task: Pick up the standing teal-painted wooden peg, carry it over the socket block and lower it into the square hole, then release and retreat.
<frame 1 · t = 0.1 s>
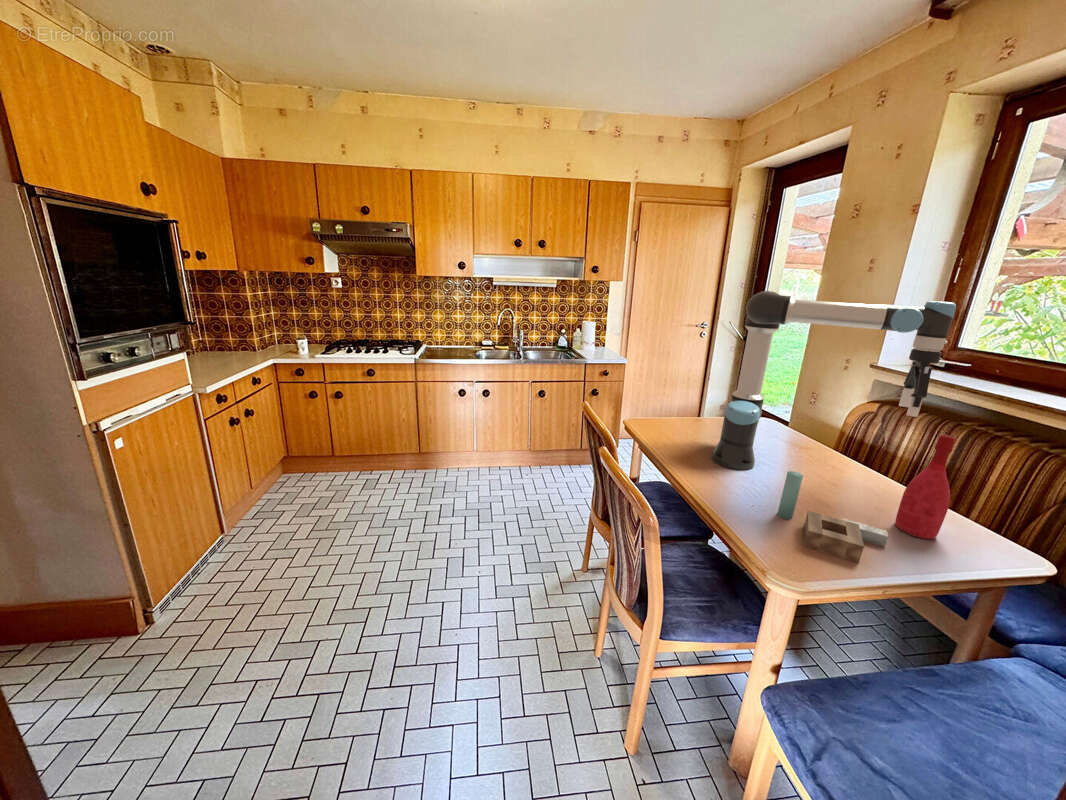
hand: (907, 411, 146), 28 cm above the table, fingers open, 13 cm apart
peg: (784, 515, 129), on the table
grey bar: (861, 538, 120), on the table
socket block: (829, 543, 117), on the table
wine bottle: (914, 531, 125), on the table
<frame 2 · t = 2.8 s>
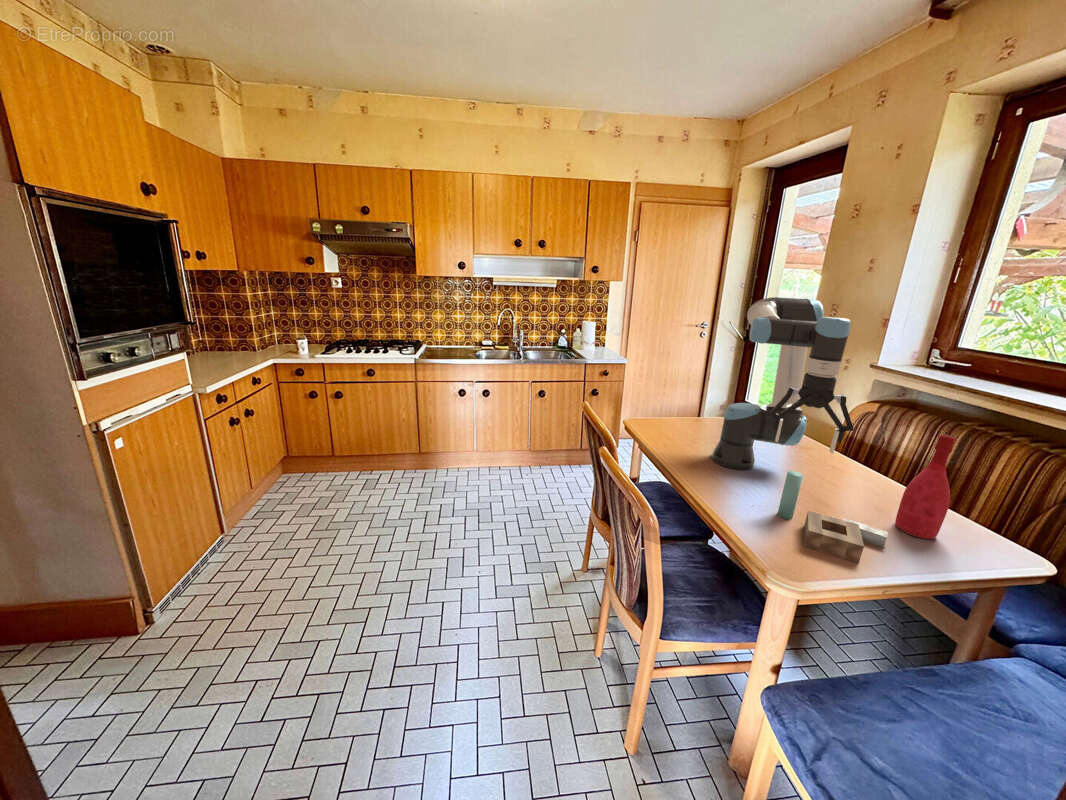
hand: (803, 446, 123), 23 cm above the table, fingers open, 13 cm apart
nothing on the table moved.
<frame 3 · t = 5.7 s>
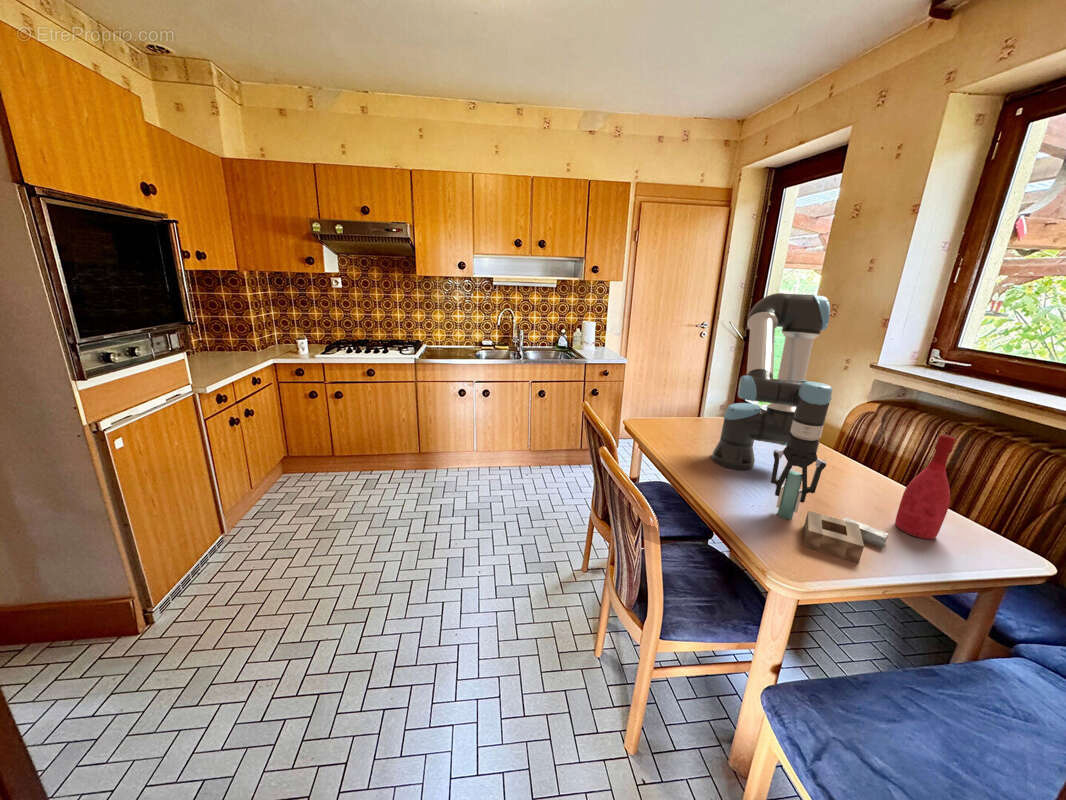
hand: (786, 507, 129), 3 cm above the table, fingers closed on peg, 4 cm apart
peg: (784, 515, 129), on the table, touching gripper
everything else where it was.
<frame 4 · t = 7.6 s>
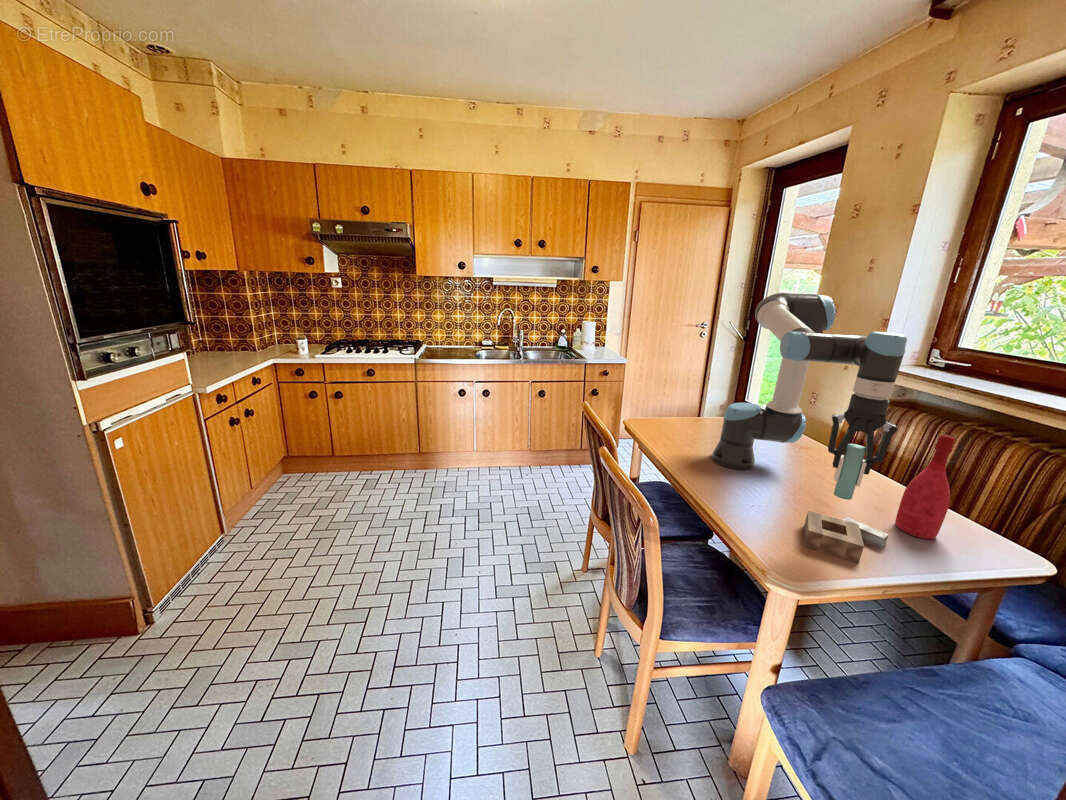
hand: (846, 481, 111), 19 cm above the table, fingers closed on peg, 4 cm apart
peg: (842, 495, 112), point 15 cm above the table, touching gripper
when the fingers open (7 cm above the table, at t = 9.6 s): peg drops 2 cm, resting in socket block.
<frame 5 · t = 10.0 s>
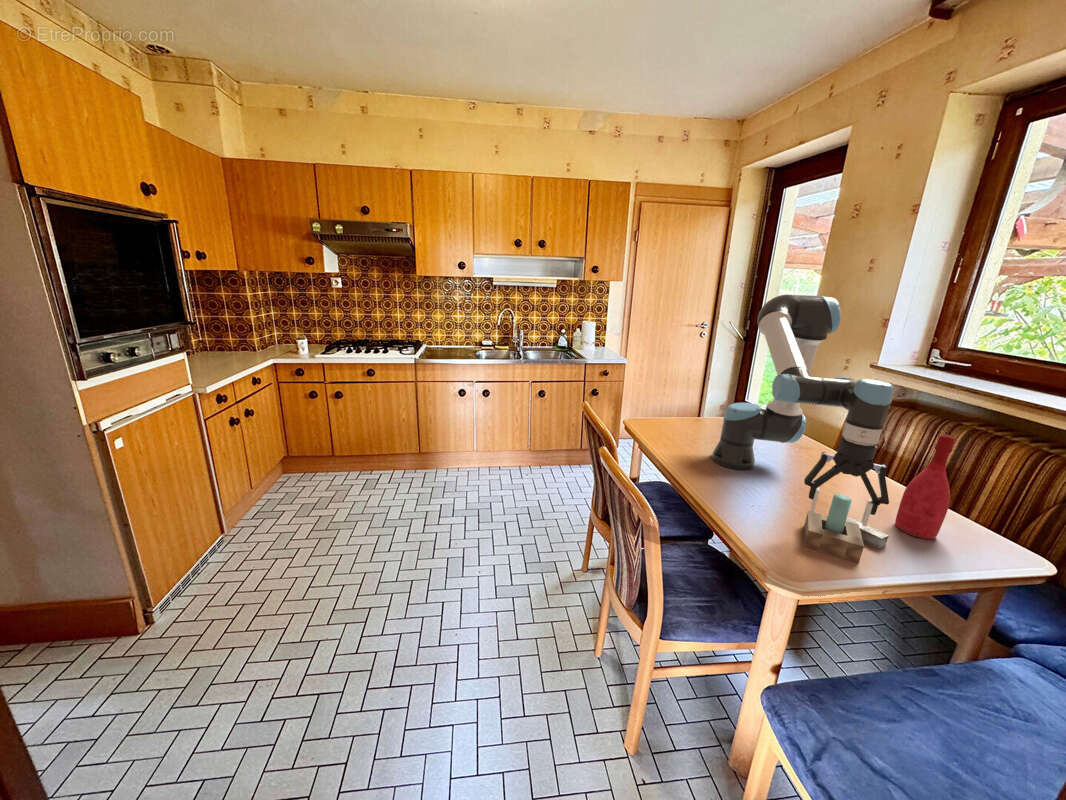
hand: (837, 516, 114), 8 cm above the table, fingers open, 11 cm apart
peg: (829, 543, 117), resting in socket block
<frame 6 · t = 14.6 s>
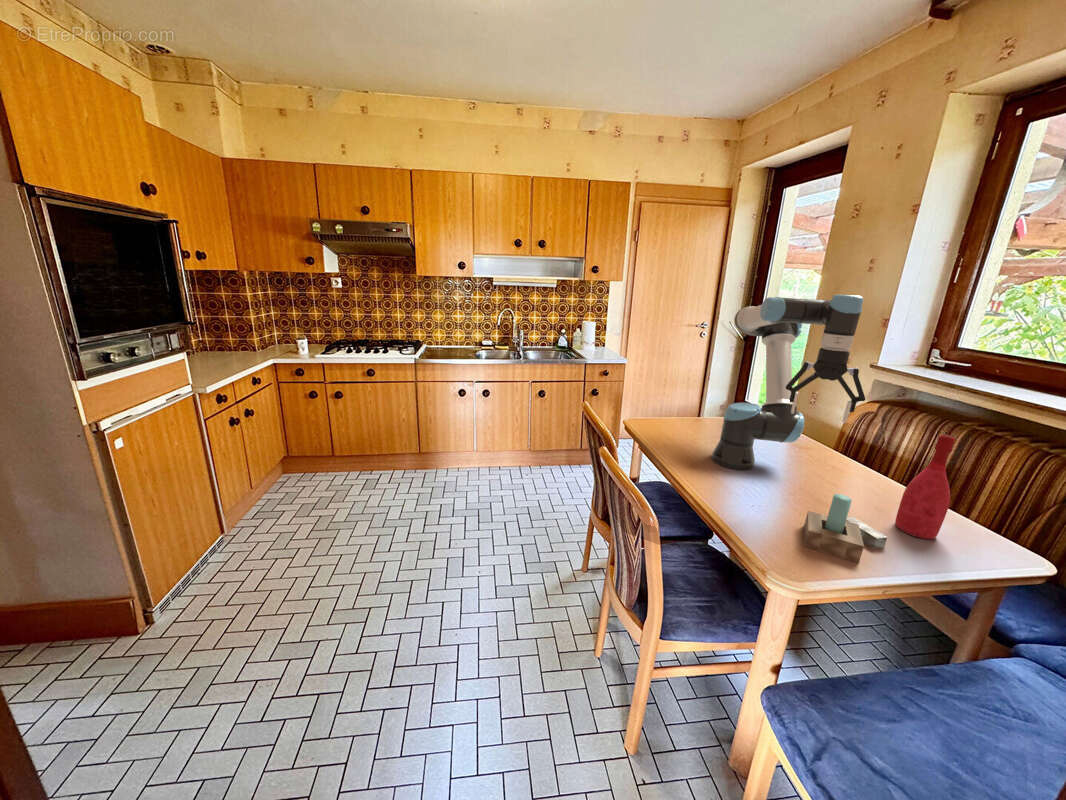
hand: (817, 417, 131), 29 cm above the table, fingers open, 13 cm apart
at the end: peg 0.1 cm off-centre on the socket block, point 0.0 cm above the socket block's base; peg tilted 0°; the gripper is holding nothing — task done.
